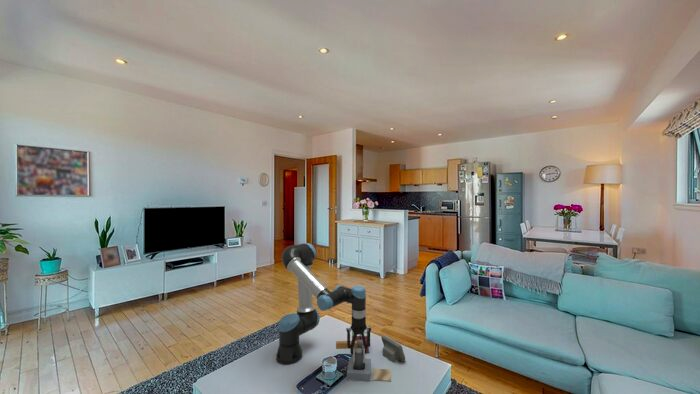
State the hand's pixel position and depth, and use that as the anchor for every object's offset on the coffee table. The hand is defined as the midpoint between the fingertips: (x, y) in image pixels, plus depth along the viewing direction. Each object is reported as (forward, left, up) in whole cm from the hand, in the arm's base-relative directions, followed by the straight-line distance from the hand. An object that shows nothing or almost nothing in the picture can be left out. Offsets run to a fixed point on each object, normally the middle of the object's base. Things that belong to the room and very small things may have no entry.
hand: (358, 359), depth 146 cm
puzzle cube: (-1, +24, -7) cm, 25 cm away
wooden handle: (-5, +5, +3) cm, 8 cm away
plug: (0, 0, -5) cm, 5 cm away
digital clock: (+19, +17, -7) cm, 26 cm away
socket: (0, 0, -7) cm, 7 cm away
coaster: (+12, -1, -7) cm, 14 cm away
